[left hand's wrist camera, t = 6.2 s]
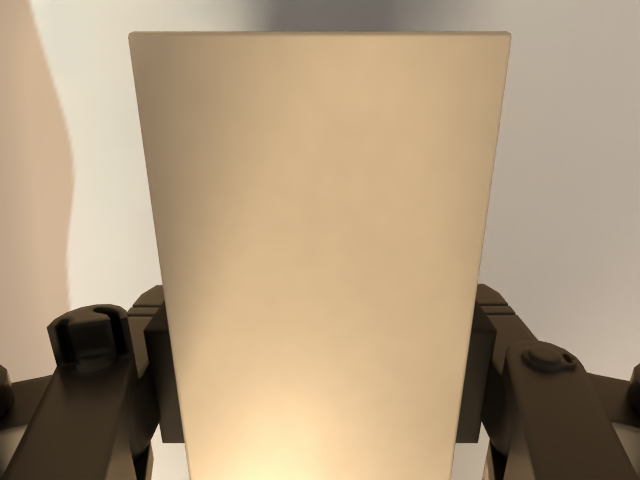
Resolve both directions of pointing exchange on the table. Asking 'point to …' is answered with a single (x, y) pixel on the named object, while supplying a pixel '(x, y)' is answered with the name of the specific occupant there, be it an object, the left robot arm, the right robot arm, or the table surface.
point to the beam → (320, 241)
